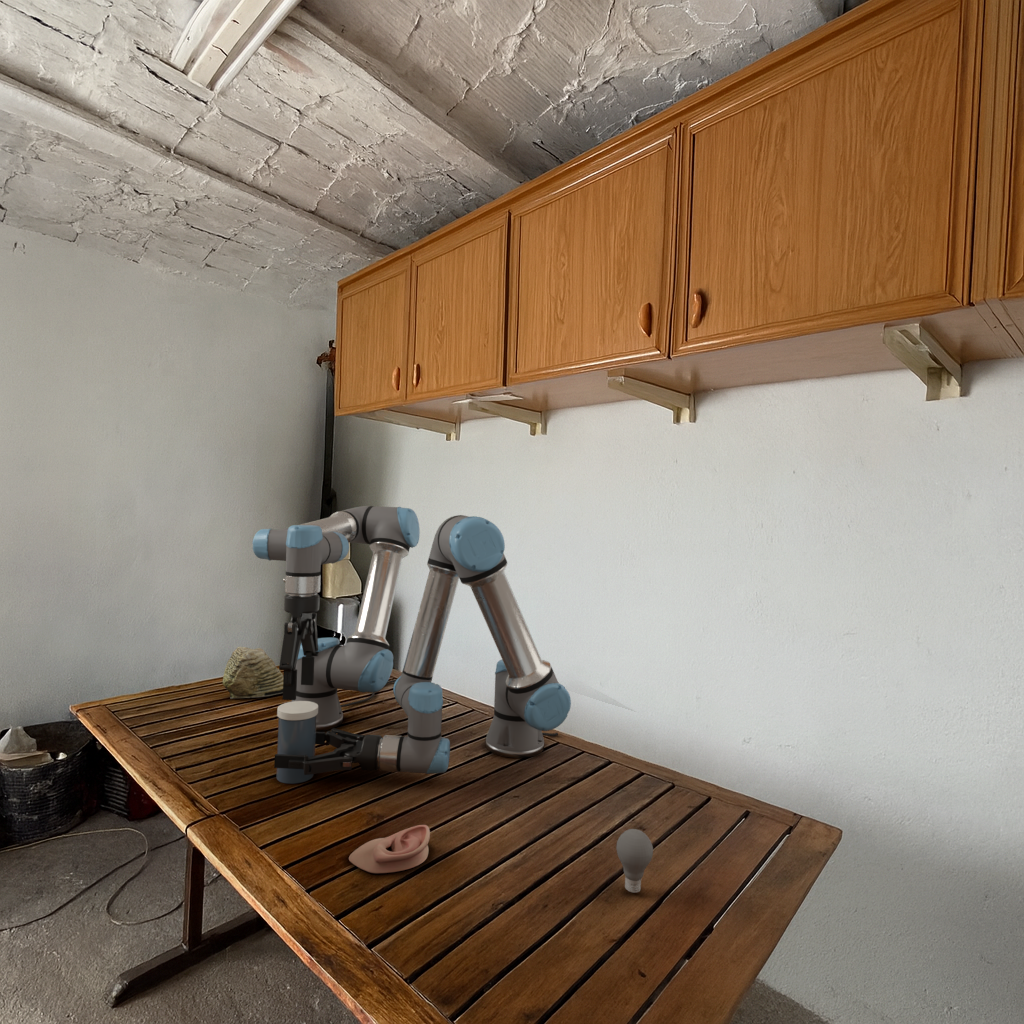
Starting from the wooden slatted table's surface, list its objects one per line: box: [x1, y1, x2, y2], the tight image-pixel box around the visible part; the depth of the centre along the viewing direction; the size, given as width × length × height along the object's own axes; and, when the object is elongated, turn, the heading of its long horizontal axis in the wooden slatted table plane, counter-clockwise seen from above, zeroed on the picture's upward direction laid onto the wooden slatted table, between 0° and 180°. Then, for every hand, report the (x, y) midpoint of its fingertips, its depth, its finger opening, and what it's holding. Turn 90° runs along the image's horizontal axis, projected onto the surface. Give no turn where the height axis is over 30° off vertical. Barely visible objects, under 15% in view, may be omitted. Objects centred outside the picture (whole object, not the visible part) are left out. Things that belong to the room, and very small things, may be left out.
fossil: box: [222, 646, 284, 699], centre depth 198 cm, size 9×18×15 cm, turn 132°
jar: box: [275, 715, 317, 785], centre depth 143 cm, size 8×8×15 cm
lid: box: [276, 701, 318, 720], centre depth 143 cm, size 9×9×2 cm
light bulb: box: [615, 828, 654, 894], centre depth 106 cm, size 6×6×10 cm
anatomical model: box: [348, 824, 431, 874], centre depth 113 cm, size 13×4×12 cm
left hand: (298, 691), depth 143 cm, fingers open, 10 cm apart
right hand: (286, 748), depth 143 cm, fingers open, 13 cm apart
